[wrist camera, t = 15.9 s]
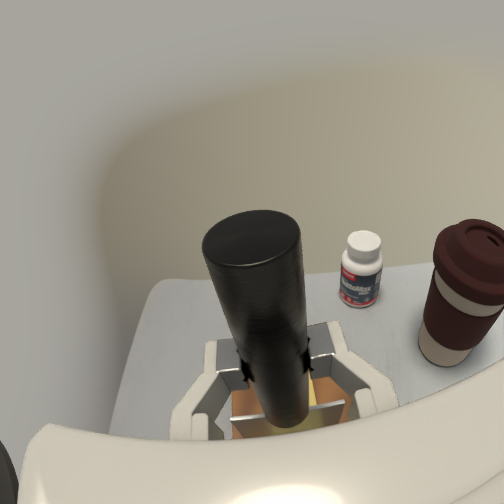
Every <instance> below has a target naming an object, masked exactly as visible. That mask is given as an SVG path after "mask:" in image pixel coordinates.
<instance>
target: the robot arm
mask: <svg viewBox="0 0 504 504" xmlns="http://www.w3.org/2000/svg"><path fill="white" fill-rule="evenodd" d="M307 337H308V369H309V373H310V378H311V380H312V379H318V378H324V377H329V376H330V378H331V379H332V380H333V381H334V382H335V383H336V384H337V385H338V386H340V387H341V388H342V389H343V390H344V391H345V392H346V393H347V394H348V395H349V396H350V397H351V398H352V399H353V400H352V403H351V406H350V408H349V411H348V419H349V421H348V422H344V423H340V424H336V425H332V426H327V427H322V428H317V429H312V430H307V431H301V432H295V433H288V434H281V435H274V436H265V437H256V438H245V439H230V440H224V432H223V431H222V430H221V429H220V428H219V427H218V426H217V425H216V424H215V423H214V421H215V420H216V418H217V416H218V415H219V413H220V411H221V409H222V408H223V406H224V404H225V402H226V401H227V399H228V397H229V395H230V394H231V392H232V391H240V390H248V389H250V386H249V376H248V374H247V371H246V369H245V366H244V364H243V361H242V359H241V356H240V354H239V351H238V349H237V346H236V344H235V341H234V338H232V339H223V340H213V341H206V343H205V353H204V371H203V374H200V375H199V377H198V378H197V379H196V381H195V382H194V383H193V385H192V386H191V387H190V389H189V390H188V391H187V393H186V394H185V395H184V397H183V398H182V399H181V401H180V402H179V403H178V405H177V406H176V407H175V408H174V410H173V411H172V412H171V420H170V432H169V440H160V439H145V438H134V437H125V436H117V435H110V434H103V433H97V432H91V431H86V430H80V429H75V428H71V427H66V426H62V425H58V424H54V423H48V424H46V425H45V426H43V427H42V428H41V429H40V430H39V431H38V432H37V433H36V434H35V435H34V436H33V437H32V438H31V440H30V441H29V444H28V446H27V449H26V452H25V456H24V461H23V465H22V470H21V476H20V482H19V490H18V501H17V504H504V358H503V359H501V360H499V361H498V362H496V363H494V364H492V365H491V366H489V367H487V368H485V369H483V370H482V371H480V372H478V373H476V374H474V375H472V376H470V377H468V378H466V379H464V380H462V381H460V382H458V383H456V384H454V385H451V386H449V387H447V388H445V389H443V390H440V391H438V392H436V393H433V394H431V395H428V396H426V397H423V398H421V399H418V400H416V401H413V402H410V403H407V404H405V405H402V406H400V405H399V402H398V399H397V396H396V393H395V390H394V387H393V385H392V382H391V380H390V379H389V378H388V377H386V376H385V375H384V374H382V373H381V372H380V371H378V370H377V369H376V368H374V367H373V366H372V365H370V364H369V363H368V362H366V361H365V360H364V359H363V358H361V357H360V356H359V355H357V354H356V353H355V352H353V351H349V350H348V347H347V344H346V341H345V338H344V335H343V332H342V329H341V326H340V323H339V321H338V320H335V321H331V322H324V323H320V324H315V325H310V326H307Z"/></svg>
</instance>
